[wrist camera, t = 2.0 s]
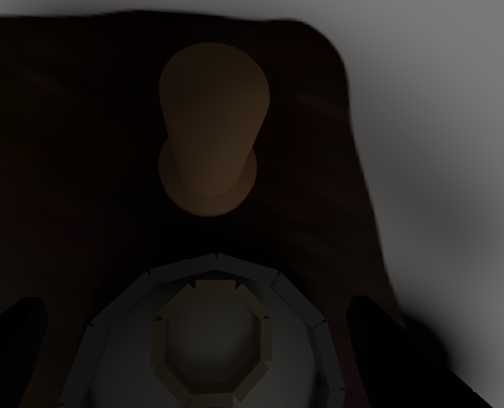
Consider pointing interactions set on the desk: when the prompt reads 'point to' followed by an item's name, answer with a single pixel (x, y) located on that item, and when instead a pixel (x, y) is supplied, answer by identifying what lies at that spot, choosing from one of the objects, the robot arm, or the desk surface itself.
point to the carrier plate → (207, 343)
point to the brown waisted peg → (211, 127)
